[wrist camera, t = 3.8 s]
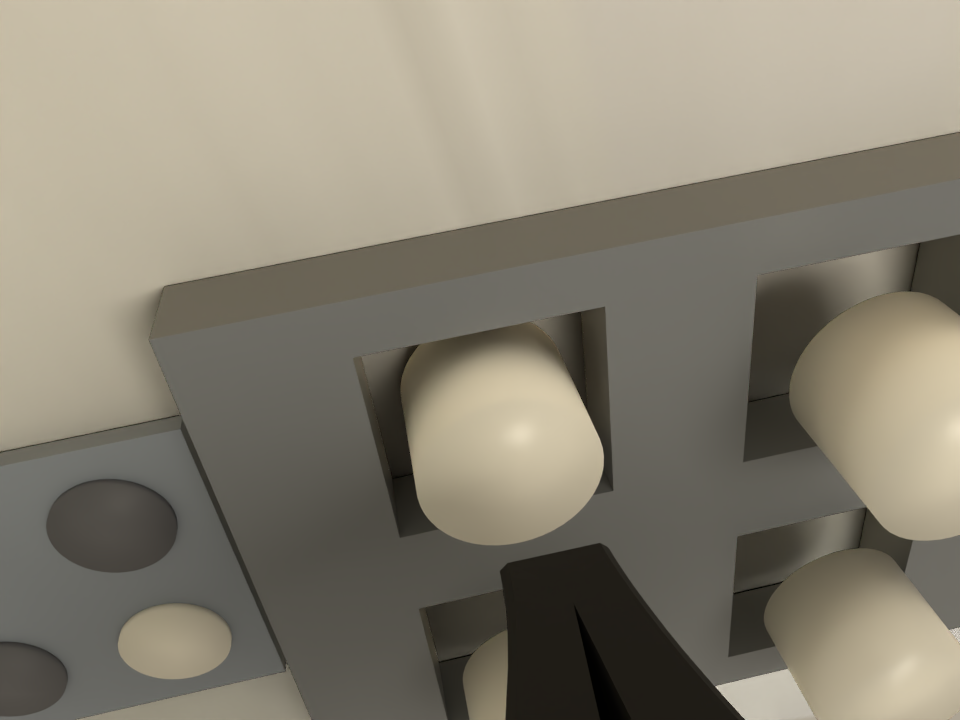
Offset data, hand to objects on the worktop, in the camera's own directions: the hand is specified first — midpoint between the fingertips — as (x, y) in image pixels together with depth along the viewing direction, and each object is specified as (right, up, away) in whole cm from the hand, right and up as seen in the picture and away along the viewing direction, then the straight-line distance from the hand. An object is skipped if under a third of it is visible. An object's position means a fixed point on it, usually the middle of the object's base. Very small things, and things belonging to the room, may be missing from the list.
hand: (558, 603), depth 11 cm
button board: (+2, +1, +6) cm, 7 cm away
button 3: (+6, -2, +7) cm, 9 cm away
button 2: (-1, +3, +4) cm, 5 cm away
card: (-9, -1, +5) cm, 11 cm away
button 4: (+6, +3, +3) cm, 7 cm away
